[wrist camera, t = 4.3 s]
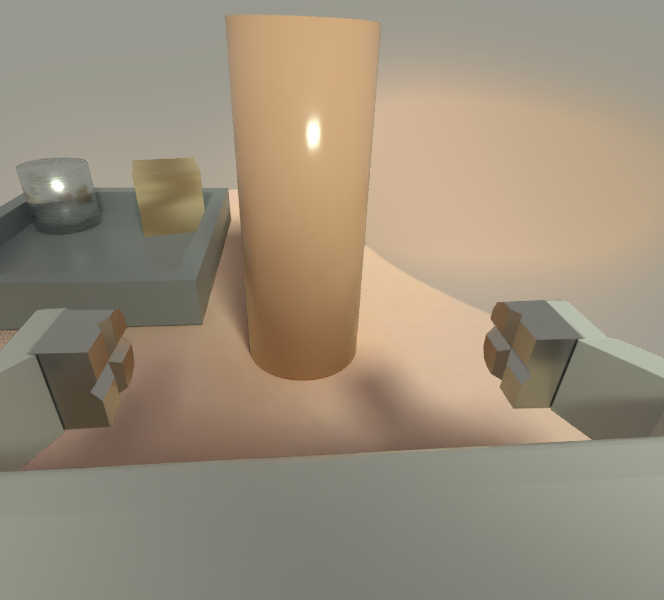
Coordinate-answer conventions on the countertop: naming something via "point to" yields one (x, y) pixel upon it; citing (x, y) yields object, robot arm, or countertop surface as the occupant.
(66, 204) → the part metal
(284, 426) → the countertop surface
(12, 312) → the parts tray
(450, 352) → the countertop surface
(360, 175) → the canister
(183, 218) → the part oak
